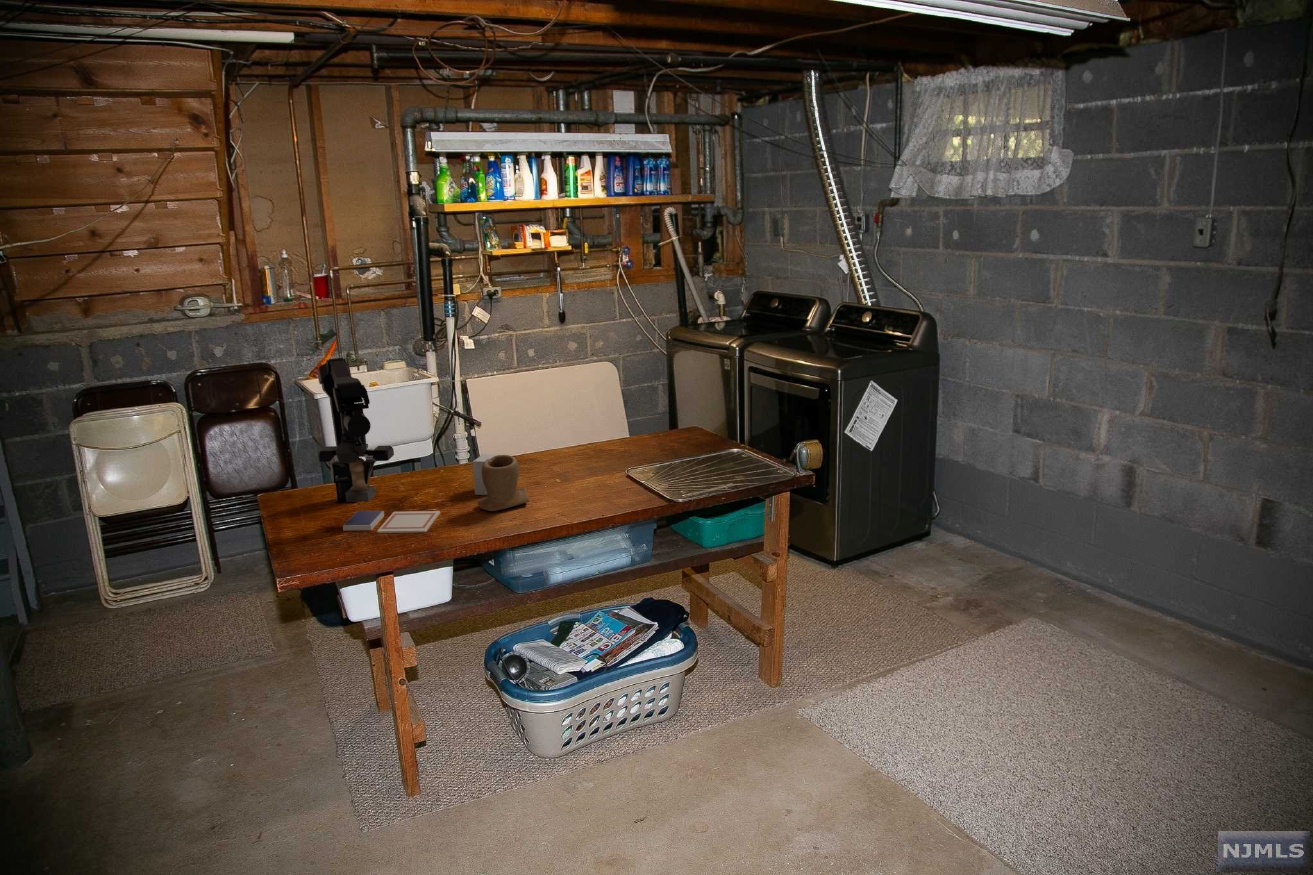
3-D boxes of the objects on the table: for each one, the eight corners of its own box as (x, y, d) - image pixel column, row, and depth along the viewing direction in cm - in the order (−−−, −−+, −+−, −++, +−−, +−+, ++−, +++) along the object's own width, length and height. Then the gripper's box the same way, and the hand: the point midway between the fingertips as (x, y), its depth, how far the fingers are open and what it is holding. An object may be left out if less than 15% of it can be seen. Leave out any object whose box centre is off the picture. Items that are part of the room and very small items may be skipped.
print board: (377, 532, 241) (376, 530, 241) (394, 513, 255) (393, 511, 255) (425, 532, 241) (425, 530, 240) (440, 512, 255) (439, 510, 255)
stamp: (346, 501, 244) (341, 461, 240) (354, 494, 249) (349, 454, 246) (368, 501, 243) (364, 460, 240) (375, 494, 249) (371, 454, 246)
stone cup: (490, 518, 250) (486, 466, 246) (473, 506, 260) (469, 456, 256) (539, 506, 258) (536, 456, 254) (522, 495, 268) (518, 447, 264)
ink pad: (343, 530, 243) (342, 524, 243) (357, 516, 254) (356, 510, 253) (371, 530, 243) (370, 524, 242) (384, 515, 253) (383, 510, 253)
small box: (492, 495, 268) (489, 461, 265) (474, 495, 269) (471, 461, 267) (502, 487, 276) (499, 454, 273) (484, 486, 277) (482, 453, 274)
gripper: (306, 436, 234) (314, 494, 238) (378, 435, 233) (384, 493, 237) (323, 425, 244) (329, 480, 249) (391, 424, 244) (397, 480, 248)
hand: (359, 483), depth 245 cm, fingers closed on stamp, 4 cm apart
